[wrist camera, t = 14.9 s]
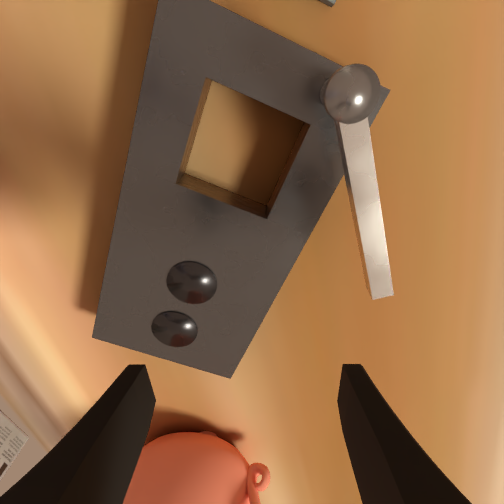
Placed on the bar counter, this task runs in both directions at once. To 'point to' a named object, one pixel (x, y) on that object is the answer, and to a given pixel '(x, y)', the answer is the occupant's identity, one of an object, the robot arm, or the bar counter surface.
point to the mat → (328, 2)
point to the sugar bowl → (194, 472)
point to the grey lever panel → (212, 192)
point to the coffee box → (9, 442)
